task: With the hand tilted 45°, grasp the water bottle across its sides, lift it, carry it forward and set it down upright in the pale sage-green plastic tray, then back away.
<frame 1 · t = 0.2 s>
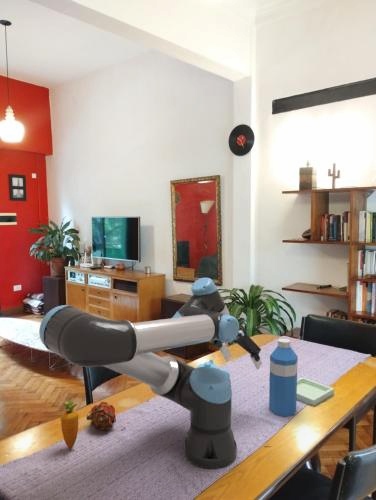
hand: (243, 362, 140), 16 cm above the table, tool tilted 35°, fingers open, 13 cm apart
water bottle: (282, 410, 138), on the table
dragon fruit: (102, 426, 128), on the table
tray: (307, 394, 150), on the table
teapot: (206, 391, 153), on the table
carrot: (70, 449, 116), on the table
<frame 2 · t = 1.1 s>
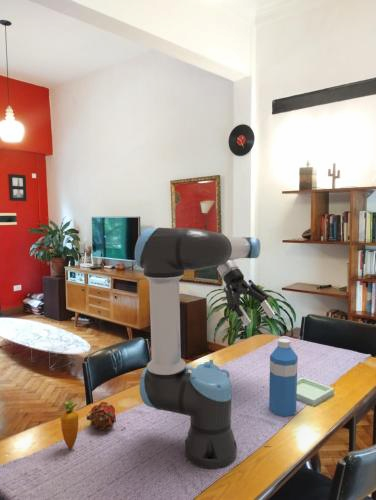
hand: (260, 319, 143), 30 cm above the table, tool tilted 45°, fingers open, 13 cm apart
nothing on the table moved.
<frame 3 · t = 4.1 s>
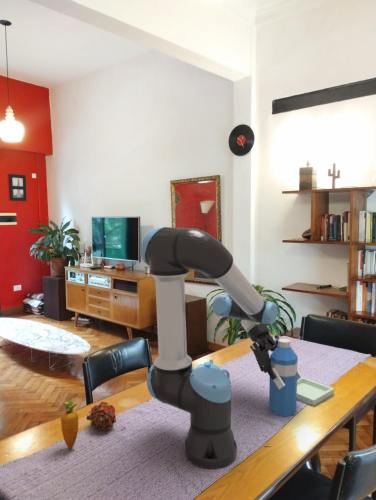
hand: (290, 383, 135), 11 cm above the table, tool tilted 45°, fingers closed on water bottle, 9 cm apart
water bottle: (282, 410, 138), on the table, touching gripper
everything else where it was.
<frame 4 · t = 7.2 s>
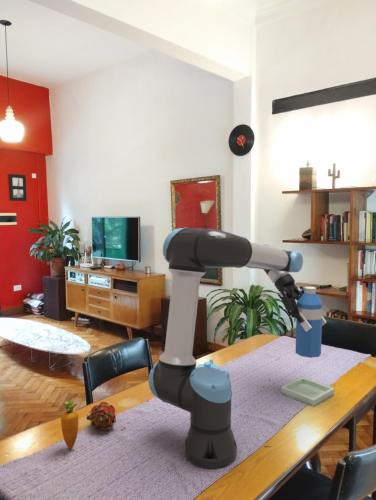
hand: (316, 326, 145), 27 cm above the table, tool tilted 45°, fingers closed on water bottle, 9 cm apart
water bottle: (308, 353, 148), point 16 cm above the table, touching gripper
everything else where it was.
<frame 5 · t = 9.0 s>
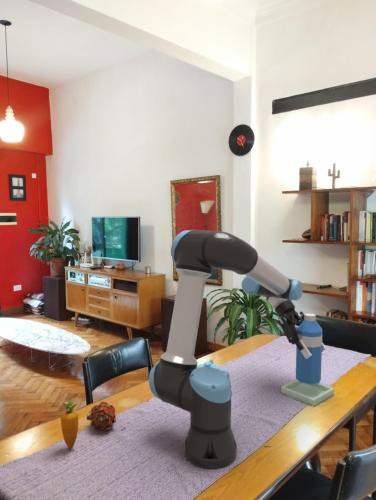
hand: (316, 353, 146), 17 cm above the table, tool tilted 45°, fingers closed on water bottle, 9 cm apart
water bottle: (308, 379, 150), point 6 cm above the table, touching gripper
everything else where it was.
when the fingers open (13 cm above the table, at t = 10.3 s): water bottle drops 1 cm, resting on tray.
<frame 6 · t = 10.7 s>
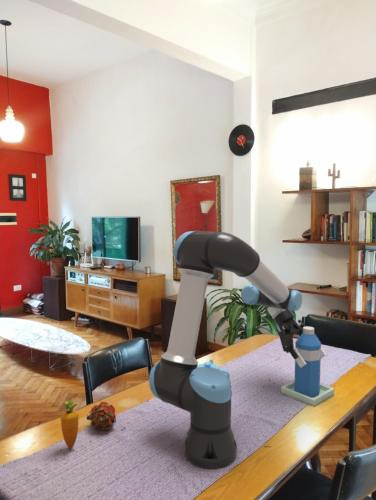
hand: (313, 361, 147), 14 cm above the table, tool tilted 45°, fingers open, 13 cm apart
water bottle: (306, 392, 150), point 1 cm above the table, touching tray
everything else where it was.
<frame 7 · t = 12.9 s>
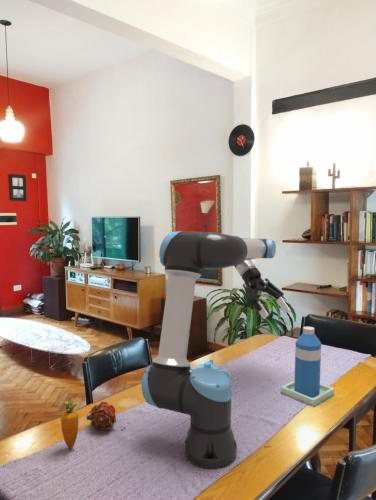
hand: (277, 314, 154), 29 cm above the table, tool tilted 45°, fingers open, 13 cm apart
nothing on the table moved.
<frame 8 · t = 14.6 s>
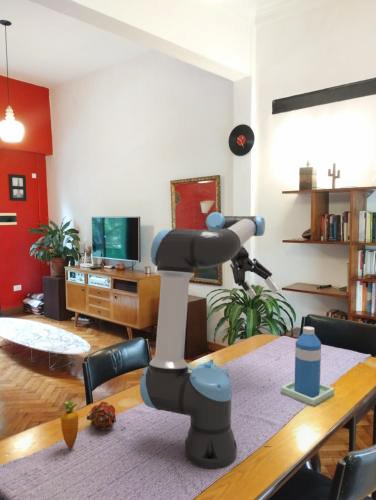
hand: (265, 294, 151), 38 cm above the table, tool tilted 45°, fingers open, 13 cm apart
nothing on the table moved.
at the end: water bottle inside the target area on the tray (0.2 cm from its centre), point 0.6 cm above the tray's base; water bottle tilted 0°; the gripper is holding nothing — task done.
